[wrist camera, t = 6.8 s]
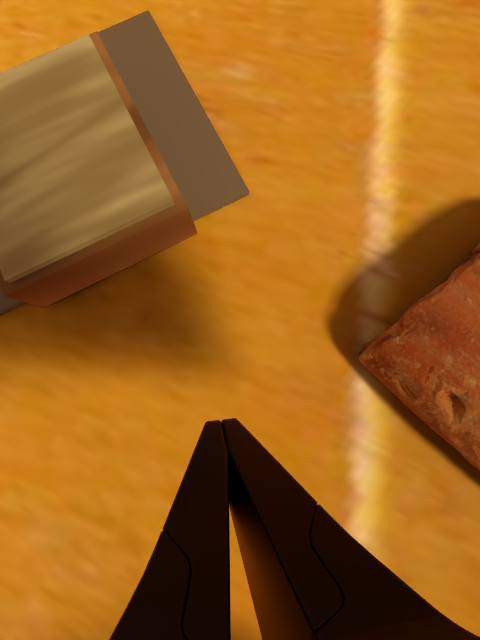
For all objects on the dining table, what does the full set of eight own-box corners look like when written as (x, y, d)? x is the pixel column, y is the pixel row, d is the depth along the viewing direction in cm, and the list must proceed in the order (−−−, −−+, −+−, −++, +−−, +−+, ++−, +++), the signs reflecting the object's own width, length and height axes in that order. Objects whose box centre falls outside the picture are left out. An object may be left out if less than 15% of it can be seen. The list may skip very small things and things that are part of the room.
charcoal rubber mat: (248, 194, 20) (249, 190, 19) (-21, 324, 19) (-27, 323, 18) (150, 16, 22) (148, 10, 22) (-96, 125, 21) (-103, 120, 21)
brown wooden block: (186, 204, 16) (93, 23, 17) (-2, 294, 15) (-78, 99, 17) (197, 233, 19) (118, 79, 21) (43, 308, 19) (-25, 143, 20)
